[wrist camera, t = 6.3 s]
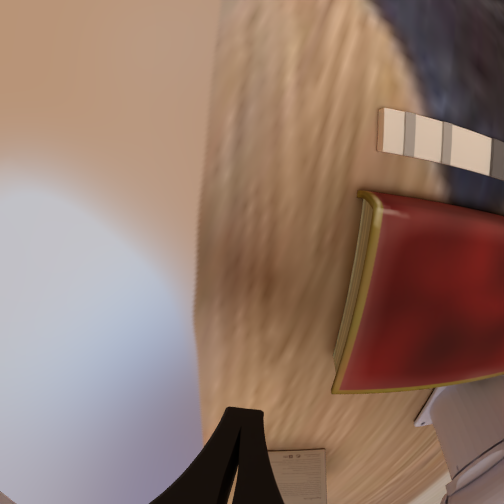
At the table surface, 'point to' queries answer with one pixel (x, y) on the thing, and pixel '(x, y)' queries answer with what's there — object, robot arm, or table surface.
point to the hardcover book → (421, 298)
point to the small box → (300, 475)
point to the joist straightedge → (439, 142)
